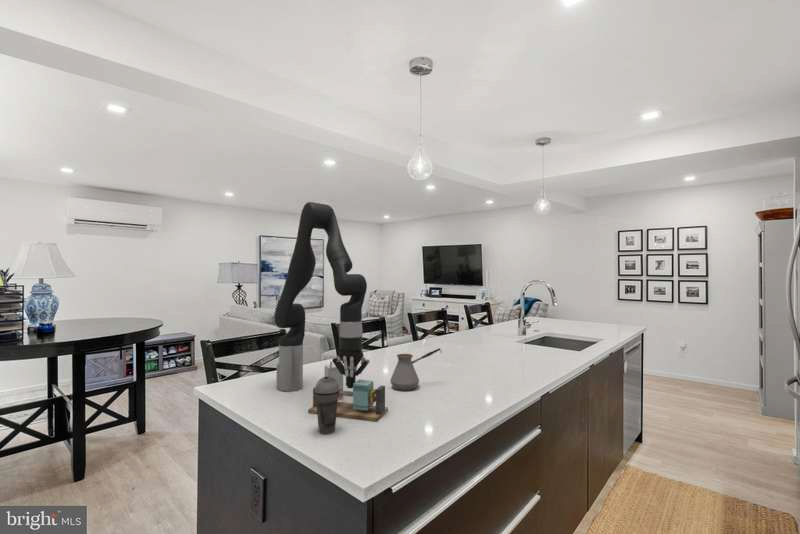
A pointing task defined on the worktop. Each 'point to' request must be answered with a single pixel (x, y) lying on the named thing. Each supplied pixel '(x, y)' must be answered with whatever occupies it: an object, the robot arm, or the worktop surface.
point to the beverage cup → (326, 403)
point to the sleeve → (362, 394)
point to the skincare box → (335, 376)
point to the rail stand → (368, 415)
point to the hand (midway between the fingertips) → (350, 387)
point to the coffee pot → (406, 372)
